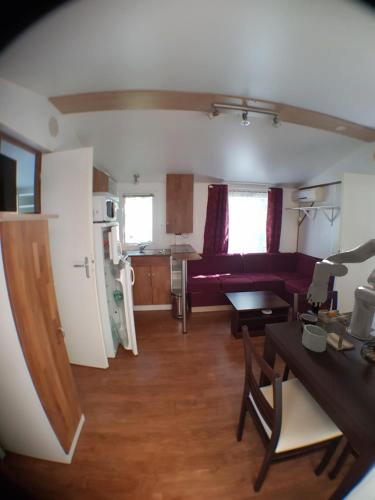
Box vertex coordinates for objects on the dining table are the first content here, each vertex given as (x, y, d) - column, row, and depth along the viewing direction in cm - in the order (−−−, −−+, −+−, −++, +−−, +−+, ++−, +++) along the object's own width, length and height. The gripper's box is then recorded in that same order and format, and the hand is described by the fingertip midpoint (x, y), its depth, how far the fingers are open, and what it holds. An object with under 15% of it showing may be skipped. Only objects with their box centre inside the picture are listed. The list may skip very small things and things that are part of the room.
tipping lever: (329, 313, 118) (330, 304, 116) (353, 326, 104) (354, 316, 103) (307, 317, 114) (308, 308, 113) (328, 331, 101) (329, 321, 100)
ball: (331, 315, 108) (332, 310, 107) (337, 318, 104) (338, 313, 104) (326, 316, 107) (327, 311, 106) (332, 320, 104) (333, 314, 103)
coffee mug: (317, 336, 114) (320, 322, 112) (302, 334, 116) (304, 320, 114) (309, 326, 126) (311, 312, 124) (295, 324, 127) (297, 310, 125)
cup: (312, 338, 113) (315, 323, 111) (329, 350, 103) (332, 335, 101) (297, 340, 111) (299, 325, 109) (313, 353, 100) (316, 337, 98)
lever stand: (332, 333, 118) (337, 309, 115) (355, 348, 105) (361, 321, 102) (317, 336, 115) (321, 311, 112) (338, 351, 102) (343, 323, 99)
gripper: (324, 280, 113) (319, 308, 117) (303, 281, 110) (299, 309, 113) (336, 284, 106) (330, 314, 109) (314, 286, 103) (309, 316, 106)
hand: (314, 311), depth 111 cm, fingers closed
